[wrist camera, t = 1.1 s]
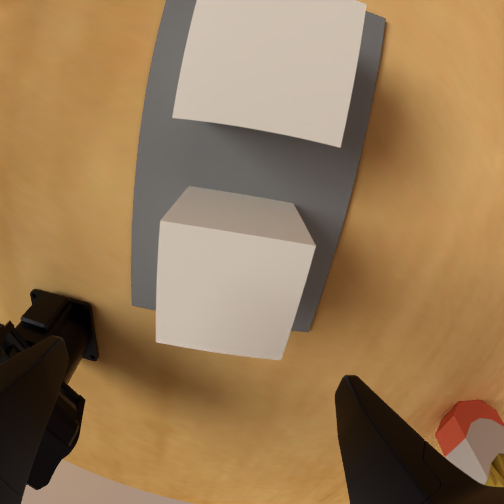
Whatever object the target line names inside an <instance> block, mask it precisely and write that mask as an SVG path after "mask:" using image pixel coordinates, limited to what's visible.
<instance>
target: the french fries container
mask: <svg viewBox="0 0 504 504" xmlns="http://www.w3.org/2000/svg"><path fill="white" fill-rule="evenodd" d="M435 436H436V438H437V440H438V442H439V445H440V447H441V449H442V452H443V454H444V456H445V458H446V459H447V460H449V461H450V462H451V463H452V464H454V465H455V466H456V467H458V468H459V469H461V470H462V471H463V472H465V473H466V474H467V475H469V476H470V477H472V478H473V479H474V480H476V481H477V482H479V483H481V484H484V485H487V486H492V487H504V423H503V422H502V420H501V418H500V416H499V415H498V413H497V412H496V410H495V409H493V408H492V407H490V406H489V405H487V404H485V403H484V402H482V401H481V400H472V401H459V402H458V403H457V404H456V405H455V406H454V407H453V409H452V410H451V411H450V412H449V413H448V414H447V415H446V416H445V417H444V418H443V419H442V420H441V423H440V425H439V427H438V429H437V432H436V434H435Z"/></svg>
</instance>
